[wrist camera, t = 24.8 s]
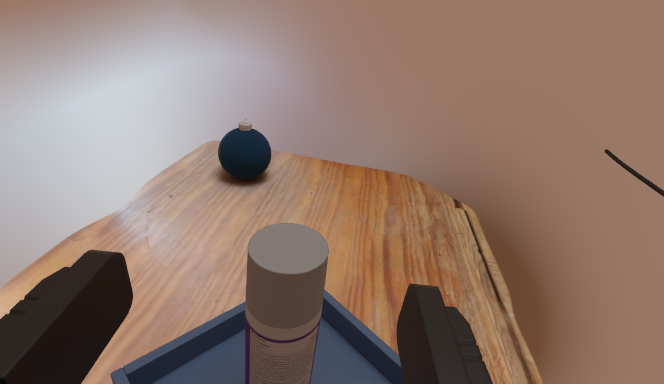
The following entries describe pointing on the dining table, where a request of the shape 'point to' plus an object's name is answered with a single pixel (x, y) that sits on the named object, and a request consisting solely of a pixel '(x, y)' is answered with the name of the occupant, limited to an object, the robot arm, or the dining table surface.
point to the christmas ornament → (244, 152)
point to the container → (283, 303)
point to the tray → (229, 353)
